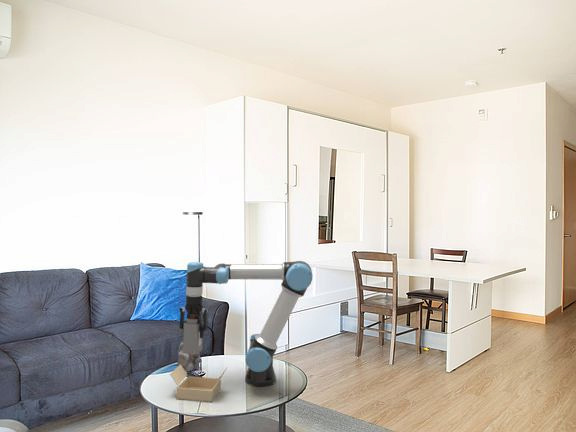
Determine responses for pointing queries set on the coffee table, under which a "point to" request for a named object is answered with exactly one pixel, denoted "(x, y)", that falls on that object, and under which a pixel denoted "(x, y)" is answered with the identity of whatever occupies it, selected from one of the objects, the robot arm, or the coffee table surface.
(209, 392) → the carton
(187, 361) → the figurine
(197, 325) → the perfume bottle
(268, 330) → the robot arm
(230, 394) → the coffee table surface
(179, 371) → the flap
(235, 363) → the coffee table surface
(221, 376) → the flap
